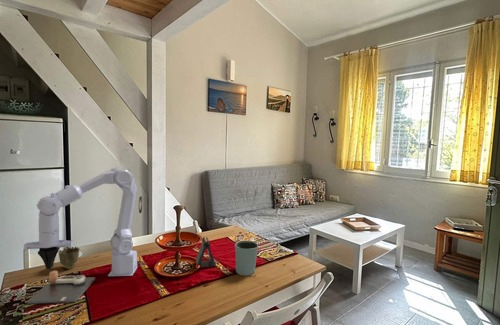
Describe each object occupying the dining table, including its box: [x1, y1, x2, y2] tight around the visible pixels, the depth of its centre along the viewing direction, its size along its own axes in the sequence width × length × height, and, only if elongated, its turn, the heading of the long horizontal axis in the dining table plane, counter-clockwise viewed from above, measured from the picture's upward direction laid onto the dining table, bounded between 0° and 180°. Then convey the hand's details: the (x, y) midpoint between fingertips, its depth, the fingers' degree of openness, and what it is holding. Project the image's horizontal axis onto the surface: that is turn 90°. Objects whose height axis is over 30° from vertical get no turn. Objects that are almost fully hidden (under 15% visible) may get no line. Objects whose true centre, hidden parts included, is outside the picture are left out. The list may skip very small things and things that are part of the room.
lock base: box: [26, 276, 96, 305], centre depth 97 cm, size 16×16×1 cm
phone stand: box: [195, 236, 217, 269], centre depth 122 cm, size 9×6×12 cm, turn 107°
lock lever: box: [48, 270, 86, 285], centre depth 100 cm, size 4×12×4 cm, turn 96°
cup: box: [58, 246, 80, 270], centre depth 114 cm, size 8×7×8 cm
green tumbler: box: [234, 240, 259, 276], centre depth 117 cm, size 10×10×12 cm
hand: (49, 267), depth 95 cm, fingers closed
